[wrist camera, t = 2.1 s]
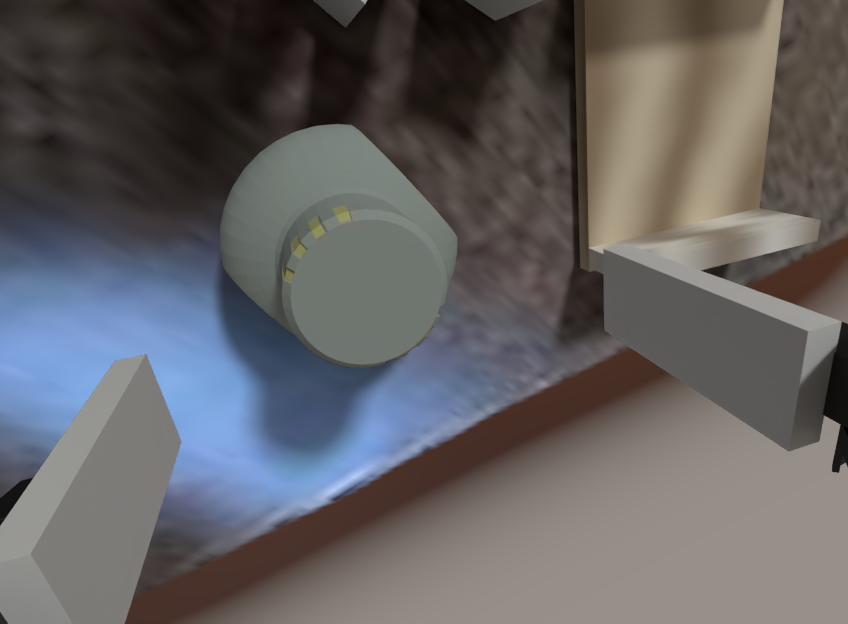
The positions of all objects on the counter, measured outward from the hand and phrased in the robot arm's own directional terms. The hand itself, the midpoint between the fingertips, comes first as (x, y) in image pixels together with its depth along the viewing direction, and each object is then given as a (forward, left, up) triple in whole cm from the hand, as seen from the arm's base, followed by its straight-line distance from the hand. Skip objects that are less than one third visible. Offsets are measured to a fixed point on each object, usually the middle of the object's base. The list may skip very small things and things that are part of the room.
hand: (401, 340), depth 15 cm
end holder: (+20, +4, -14) cm, 24 cm away
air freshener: (0, 0, -14) cm, 14 cm away
